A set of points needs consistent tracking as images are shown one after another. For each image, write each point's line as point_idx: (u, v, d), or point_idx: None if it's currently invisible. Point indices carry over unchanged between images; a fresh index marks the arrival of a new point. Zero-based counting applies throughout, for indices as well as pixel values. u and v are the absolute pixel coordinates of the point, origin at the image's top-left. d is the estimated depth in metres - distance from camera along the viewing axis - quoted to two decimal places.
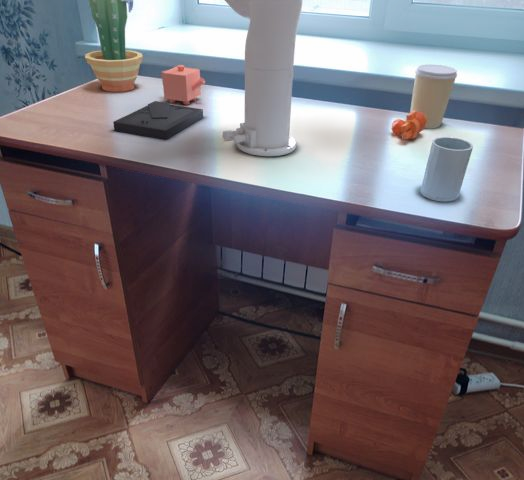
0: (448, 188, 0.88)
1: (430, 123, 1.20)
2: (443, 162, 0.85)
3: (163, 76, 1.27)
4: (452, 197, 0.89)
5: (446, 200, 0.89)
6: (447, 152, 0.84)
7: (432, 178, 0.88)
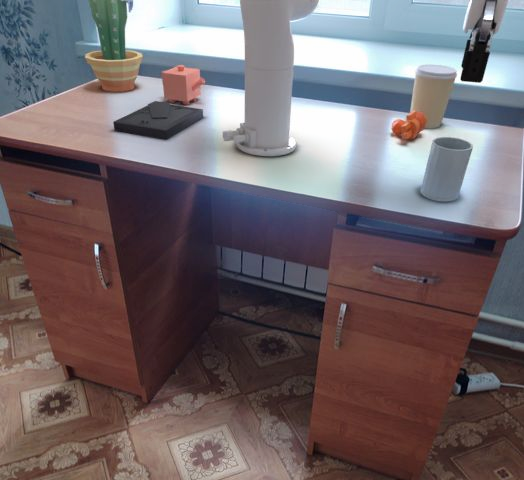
0: (448, 188, 0.88)
1: (430, 123, 1.20)
2: (443, 162, 0.85)
3: (163, 76, 1.27)
4: (452, 197, 0.89)
5: (446, 200, 0.89)
6: (447, 152, 0.84)
7: (432, 178, 0.88)
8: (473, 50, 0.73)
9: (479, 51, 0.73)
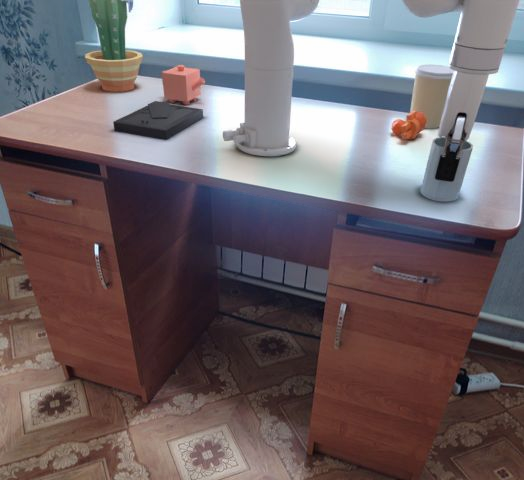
0: (448, 188, 0.88)
1: (430, 123, 1.20)
2: None
3: (163, 76, 1.27)
4: (452, 197, 0.89)
5: (446, 200, 0.89)
6: None
7: (432, 178, 0.88)
8: (445, 157, 0.83)
9: (450, 158, 0.83)
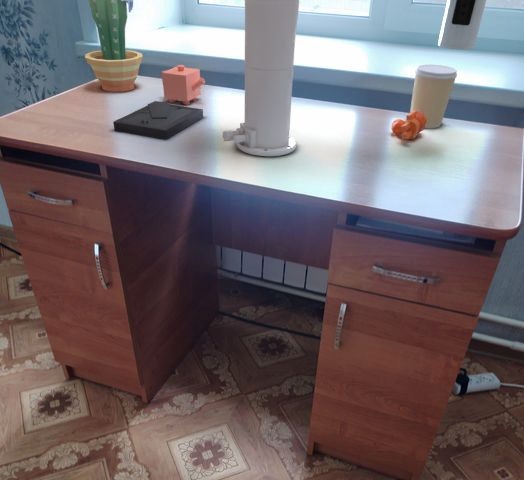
0: (464, 34, 0.93)
1: (430, 123, 1.20)
2: None
3: (163, 76, 1.27)
4: (468, 45, 0.94)
5: (462, 48, 0.95)
6: None
7: (450, 25, 0.93)
8: None
9: None
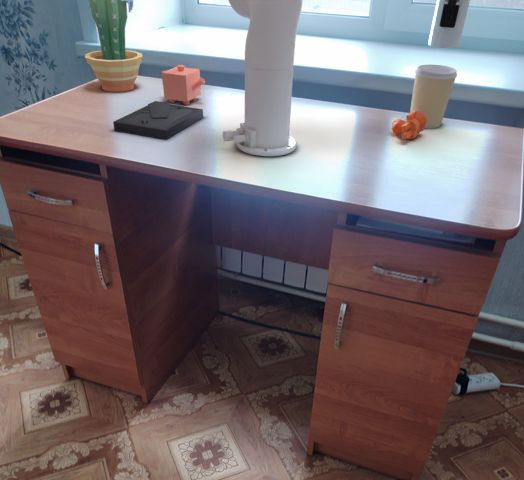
0: (450, 35, 1.09)
1: (430, 123, 1.20)
2: None
3: (163, 76, 1.27)
4: (454, 44, 1.11)
5: (449, 47, 1.11)
6: None
7: (438, 27, 1.09)
8: (448, 3, 1.05)
9: (452, 4, 1.04)
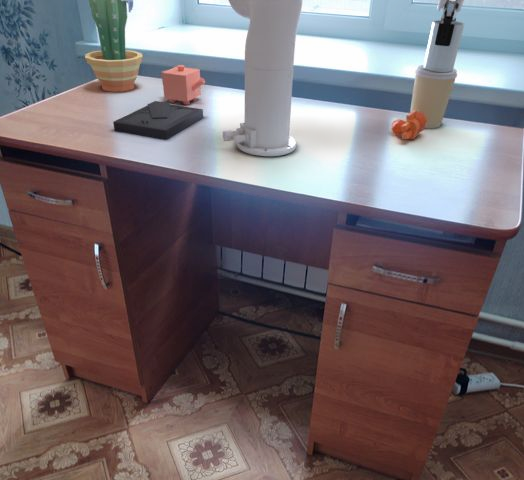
0: (444, 59, 1.12)
1: (430, 123, 1.20)
2: None
3: (163, 76, 1.27)
4: (448, 68, 1.14)
5: (443, 70, 1.14)
6: None
7: (432, 51, 1.12)
8: (443, 22, 1.06)
9: (447, 23, 1.06)
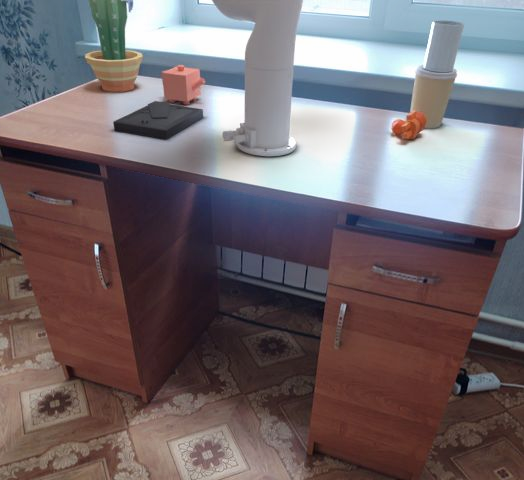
0: (444, 59, 1.12)
1: (430, 123, 1.20)
2: (441, 36, 1.10)
3: (163, 76, 1.27)
4: (448, 68, 1.14)
5: (443, 70, 1.14)
6: (444, 27, 1.08)
7: (432, 51, 1.12)
8: None
9: None
